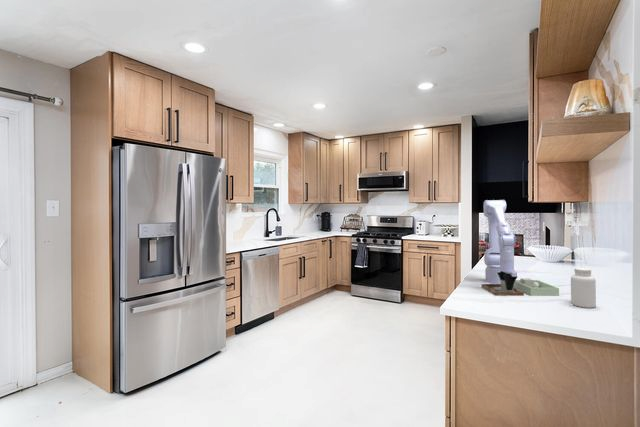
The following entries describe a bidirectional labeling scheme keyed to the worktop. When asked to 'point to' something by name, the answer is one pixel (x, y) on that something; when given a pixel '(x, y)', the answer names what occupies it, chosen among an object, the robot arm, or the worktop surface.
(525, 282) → the grey rectangular block
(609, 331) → the worktop surface
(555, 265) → the worktop surface
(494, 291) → the walnut tray
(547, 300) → the worktop surface
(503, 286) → the stone
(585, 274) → the pill bottle
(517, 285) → the green bin
